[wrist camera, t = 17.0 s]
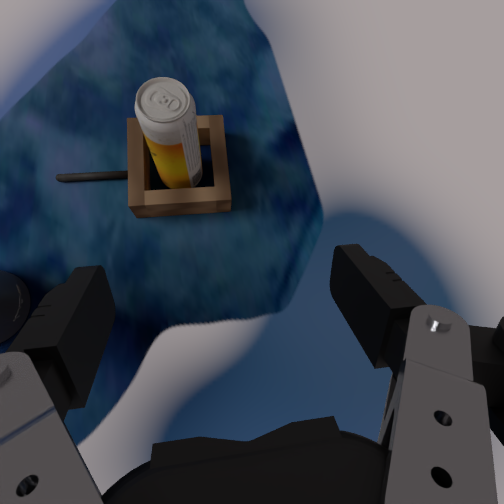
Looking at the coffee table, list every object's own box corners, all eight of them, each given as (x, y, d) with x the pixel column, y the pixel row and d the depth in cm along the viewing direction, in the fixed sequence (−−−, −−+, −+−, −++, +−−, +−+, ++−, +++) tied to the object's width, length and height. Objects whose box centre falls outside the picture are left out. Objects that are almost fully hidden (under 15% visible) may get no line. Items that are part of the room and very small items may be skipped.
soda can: (173, 149, 46) (151, 64, 32) (210, 167, 46) (204, 89, 32) (152, 182, 45) (119, 108, 30) (190, 200, 44) (175, 134, 30)
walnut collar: (55, 223, 42) (39, 212, 38) (59, 139, 45) (44, 120, 41) (230, 211, 45) (231, 199, 41) (222, 132, 48) (222, 114, 44)
